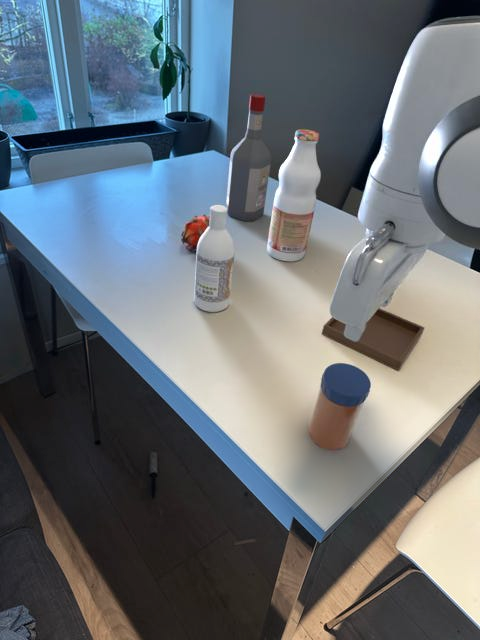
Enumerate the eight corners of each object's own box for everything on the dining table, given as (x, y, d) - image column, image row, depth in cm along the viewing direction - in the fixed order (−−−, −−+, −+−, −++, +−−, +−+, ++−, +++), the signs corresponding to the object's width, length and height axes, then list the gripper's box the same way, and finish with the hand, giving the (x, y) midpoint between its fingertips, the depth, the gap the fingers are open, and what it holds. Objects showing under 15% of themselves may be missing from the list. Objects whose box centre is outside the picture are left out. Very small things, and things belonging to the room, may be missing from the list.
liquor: (266, 213, 126) (283, 97, 108) (249, 224, 119) (265, 102, 101) (239, 204, 129) (251, 90, 111) (221, 213, 123) (231, 94, 105)
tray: (421, 335, 87) (424, 327, 86) (398, 371, 78) (402, 362, 77) (349, 304, 93) (352, 296, 92) (321, 334, 84) (323, 325, 83)
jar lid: (374, 387, 61) (378, 377, 60) (355, 414, 57) (359, 404, 55) (332, 366, 64) (335, 356, 62) (312, 390, 59) (315, 380, 58)
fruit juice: (258, 249, 108) (275, 128, 92) (284, 240, 114) (304, 124, 97) (286, 266, 103) (310, 141, 86) (312, 255, 109) (339, 136, 92)
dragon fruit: (222, 246, 111) (186, 267, 105) (202, 218, 111) (165, 237, 105) (236, 230, 104) (198, 251, 98) (215, 200, 104) (176, 219, 98)
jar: (355, 430, 66) (375, 380, 60) (338, 457, 62) (358, 406, 56) (319, 410, 69) (335, 359, 62) (301, 434, 65) (315, 383, 58)
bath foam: (229, 314, 86) (240, 218, 74) (193, 312, 86) (198, 215, 74) (228, 293, 92) (238, 201, 80) (194, 292, 91) (199, 198, 79)
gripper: (401, 256, 36) (357, 378, 45) (461, 193, 50) (419, 294, 59) (332, 230, 39) (302, 350, 47) (407, 177, 53) (374, 276, 61)
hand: (367, 319), depth 53 cm, fingers open, 7 cm apart
